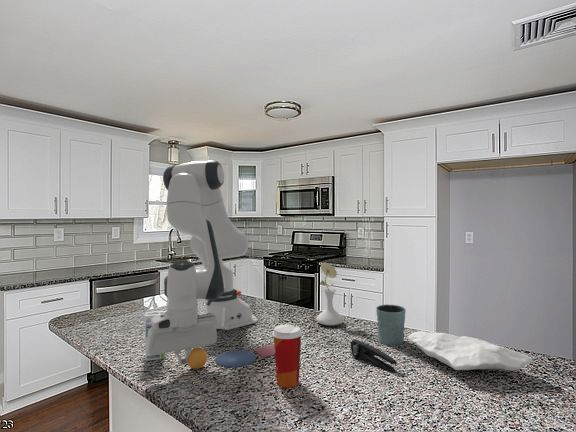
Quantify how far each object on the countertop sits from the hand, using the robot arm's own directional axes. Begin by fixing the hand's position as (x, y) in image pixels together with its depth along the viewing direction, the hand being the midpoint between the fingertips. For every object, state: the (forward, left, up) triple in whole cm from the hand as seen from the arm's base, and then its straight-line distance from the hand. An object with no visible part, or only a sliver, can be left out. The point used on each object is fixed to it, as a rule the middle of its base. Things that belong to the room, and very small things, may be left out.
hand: (183, 363), depth 111 cm
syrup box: (+5, -15, -2) cm, 16 cm away
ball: (-4, 0, +1) cm, 4 cm away
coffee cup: (-23, +23, -2) cm, 32 cm away
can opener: (-52, +24, -3) cm, 58 cm away
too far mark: (-29, 0, -2) cm, 29 cm away
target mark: (-17, 0, -2) cm, 17 cm away
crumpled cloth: (-73, +41, -3) cm, 83 cm away
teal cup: (-70, +15, -2) cm, 71 cm away
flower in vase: (-64, -14, -2) cm, 66 cm away
